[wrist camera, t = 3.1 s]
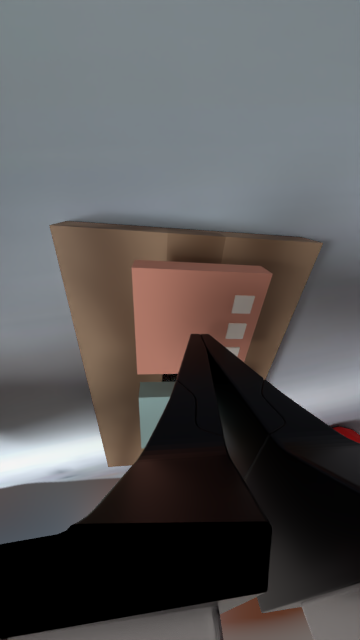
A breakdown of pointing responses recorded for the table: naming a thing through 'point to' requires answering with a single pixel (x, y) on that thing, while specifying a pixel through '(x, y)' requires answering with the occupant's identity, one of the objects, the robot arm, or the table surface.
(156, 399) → the tile teal
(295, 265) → the button board
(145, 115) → the table surface
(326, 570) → the robot arm
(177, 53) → the table surface
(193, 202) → the table surface
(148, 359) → the tile brick
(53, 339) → the table surface
